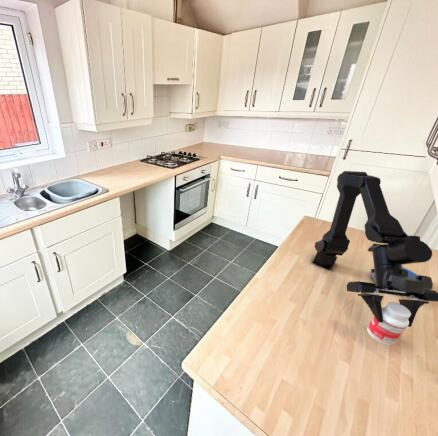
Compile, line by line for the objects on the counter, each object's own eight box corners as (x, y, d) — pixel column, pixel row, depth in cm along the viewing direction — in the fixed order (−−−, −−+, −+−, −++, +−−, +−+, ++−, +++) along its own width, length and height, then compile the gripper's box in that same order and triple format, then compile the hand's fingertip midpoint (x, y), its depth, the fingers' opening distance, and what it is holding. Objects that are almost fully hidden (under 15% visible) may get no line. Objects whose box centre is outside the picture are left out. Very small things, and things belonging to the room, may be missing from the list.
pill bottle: (373, 322, 73) (390, 296, 67) (399, 339, 68) (420, 313, 62) (361, 331, 70) (378, 304, 65) (387, 349, 66) (408, 322, 60)
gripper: (369, 258, 63) (375, 322, 59) (457, 268, 59) (470, 336, 55) (343, 263, 73) (347, 317, 69) (417, 271, 70) (425, 328, 66)
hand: (394, 324), depth 65 cm, fingers closed on pill bottle, 6 cm apart
